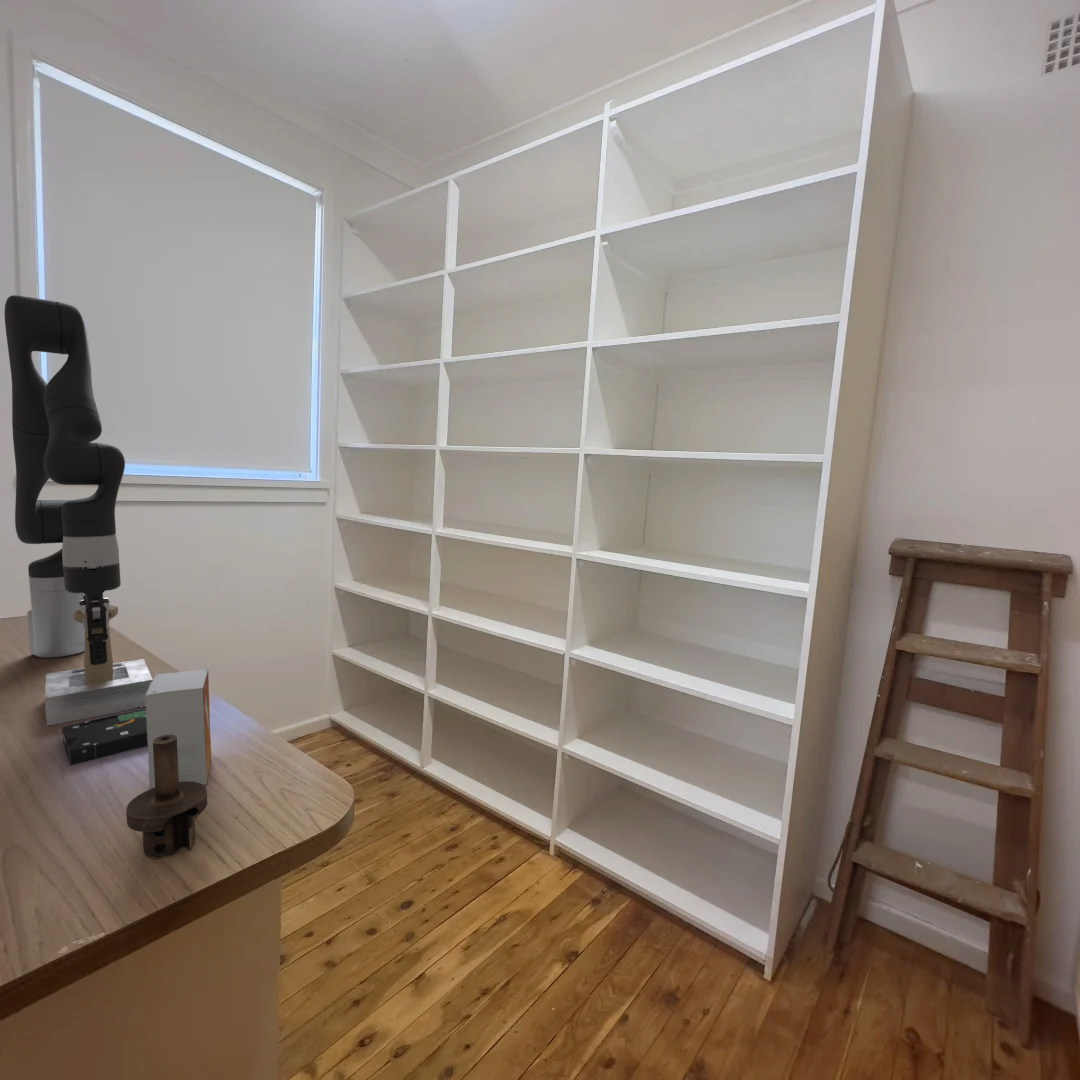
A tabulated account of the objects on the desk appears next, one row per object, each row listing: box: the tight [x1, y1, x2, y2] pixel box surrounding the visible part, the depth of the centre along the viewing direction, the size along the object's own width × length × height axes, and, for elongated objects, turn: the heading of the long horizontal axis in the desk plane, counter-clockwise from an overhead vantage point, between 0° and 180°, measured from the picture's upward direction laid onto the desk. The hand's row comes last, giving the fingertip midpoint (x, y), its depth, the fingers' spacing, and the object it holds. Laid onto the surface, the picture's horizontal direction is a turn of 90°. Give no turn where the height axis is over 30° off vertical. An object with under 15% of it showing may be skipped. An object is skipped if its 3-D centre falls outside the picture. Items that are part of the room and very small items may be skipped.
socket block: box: [44, 658, 154, 727], centre depth 99 cm, size 14×14×5 cm
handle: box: [73, 605, 119, 684], centre depth 99 cm, size 5×6×15 cm
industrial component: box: [125, 735, 208, 859], centre depth 62 cm, size 9×7×12 cm
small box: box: [145, 669, 212, 790], centre depth 75 cm, size 8×6×13 cm
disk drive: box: [61, 708, 148, 766], centre depth 86 cm, size 10×3×15 cm
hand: (97, 658), depth 99 cm, fingers open, 5 cm apart
